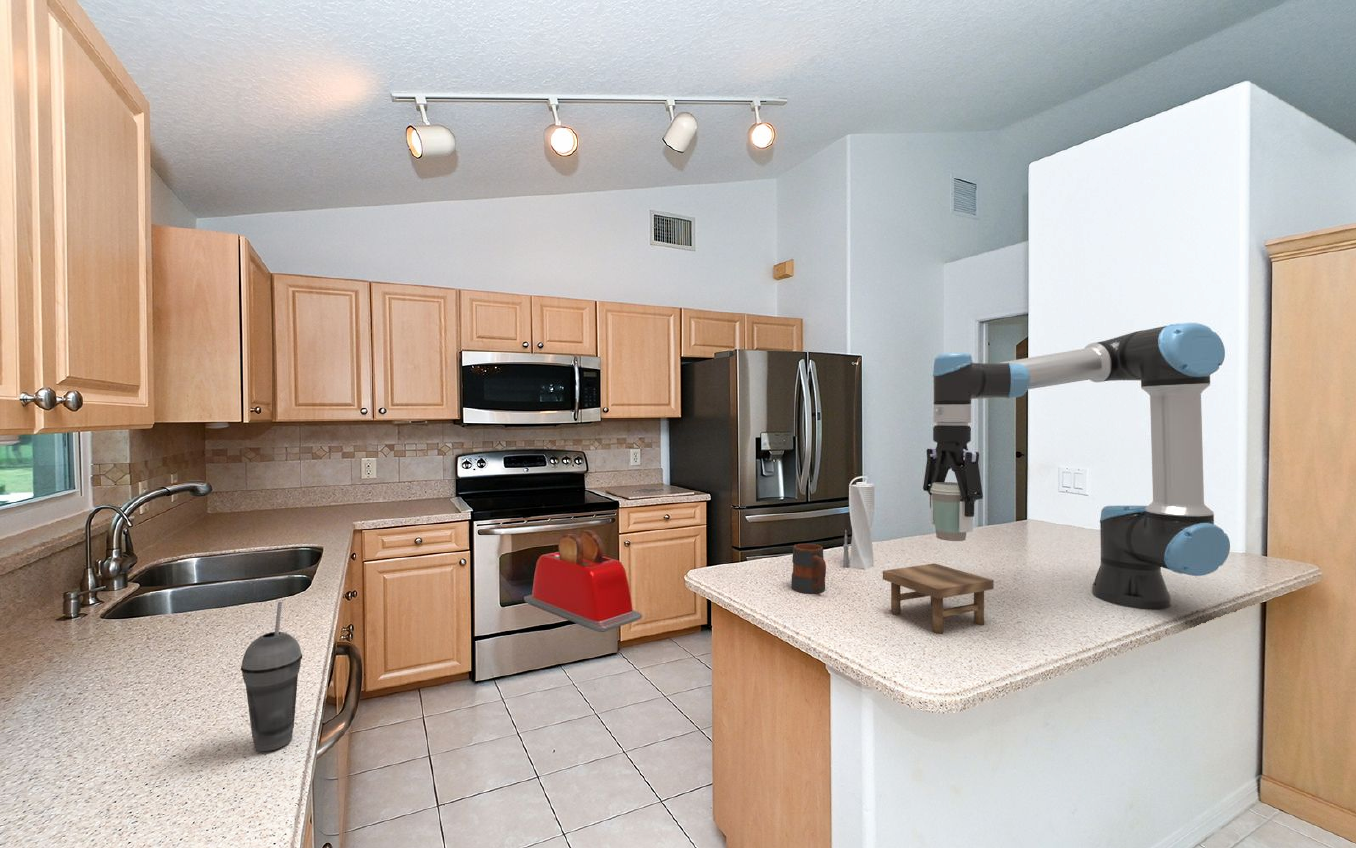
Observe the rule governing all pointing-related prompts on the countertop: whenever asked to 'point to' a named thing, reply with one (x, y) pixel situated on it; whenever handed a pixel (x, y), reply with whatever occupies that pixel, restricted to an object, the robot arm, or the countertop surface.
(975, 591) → the stool
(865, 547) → the skyscraper
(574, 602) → the toaster
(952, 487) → the coffee cup
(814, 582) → the mug
